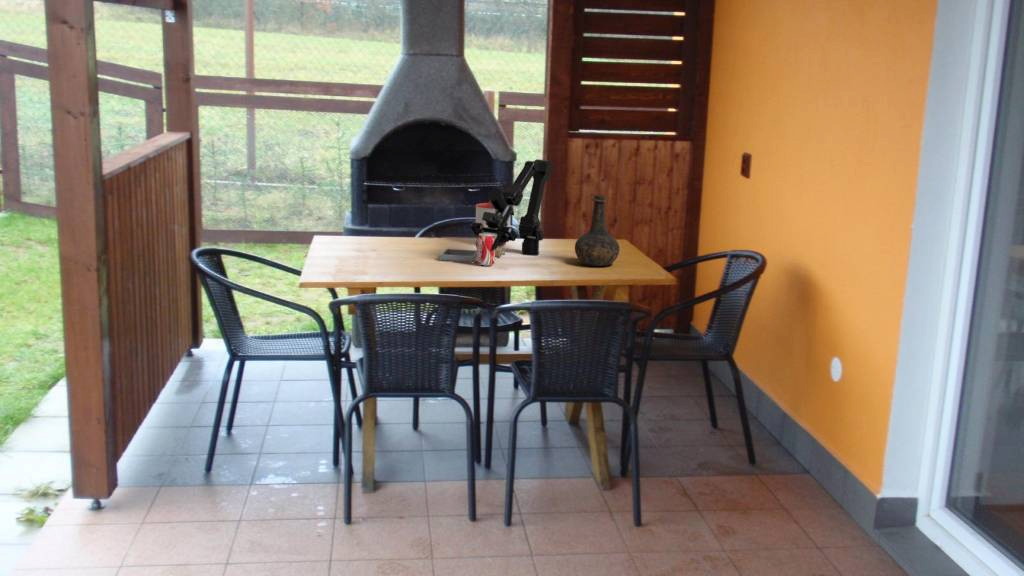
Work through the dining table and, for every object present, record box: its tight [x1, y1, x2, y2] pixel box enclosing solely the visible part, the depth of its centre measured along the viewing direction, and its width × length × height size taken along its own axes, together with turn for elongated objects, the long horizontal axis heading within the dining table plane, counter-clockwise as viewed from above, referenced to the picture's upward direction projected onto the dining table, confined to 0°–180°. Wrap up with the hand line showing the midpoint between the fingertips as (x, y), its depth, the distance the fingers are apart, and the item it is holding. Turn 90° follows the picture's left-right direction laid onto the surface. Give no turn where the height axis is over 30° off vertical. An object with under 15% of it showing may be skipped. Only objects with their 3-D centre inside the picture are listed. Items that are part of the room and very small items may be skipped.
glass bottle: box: [574, 193, 620, 267], centre depth 395 cm, size 18×18×28 cm
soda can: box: [476, 233, 496, 267], centre depth 387 cm, size 7×7×12 cm
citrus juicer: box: [475, 201, 513, 246], centre depth 431 cm, size 16×17×20 cm
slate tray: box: [439, 248, 477, 263], centre depth 398 cm, size 13×13×2 cm
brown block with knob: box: [495, 247, 506, 259], centre depth 408 cm, size 8×9×3 cm
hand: (484, 248), depth 386 cm, fingers closed on soda can, 7 cm apart
